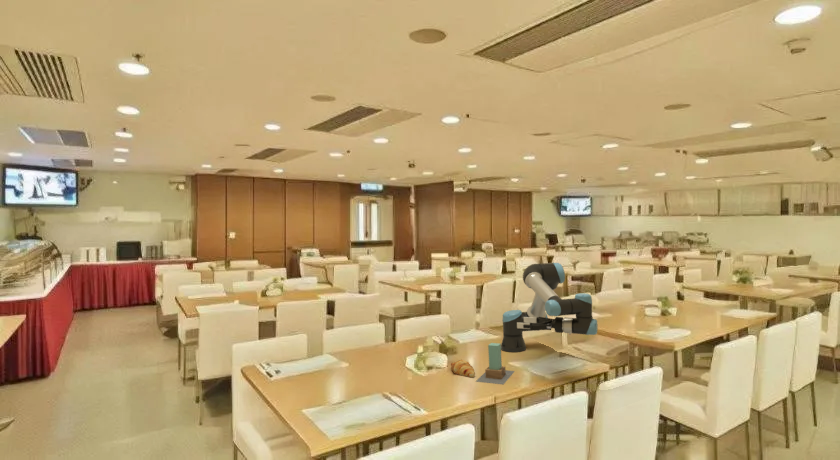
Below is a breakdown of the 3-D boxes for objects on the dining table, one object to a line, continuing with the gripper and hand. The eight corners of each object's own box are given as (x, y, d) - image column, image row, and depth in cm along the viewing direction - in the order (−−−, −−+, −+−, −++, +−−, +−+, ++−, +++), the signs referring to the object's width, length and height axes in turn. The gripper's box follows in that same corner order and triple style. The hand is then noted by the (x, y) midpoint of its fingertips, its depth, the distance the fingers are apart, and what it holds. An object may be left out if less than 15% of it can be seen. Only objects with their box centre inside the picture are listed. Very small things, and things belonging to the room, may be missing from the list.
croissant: (478, 384, 233) (484, 369, 235) (463, 378, 229) (469, 363, 231) (456, 373, 252) (461, 359, 253) (441, 367, 248) (447, 353, 249)
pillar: (492, 366, 236) (491, 342, 236) (501, 367, 234) (500, 343, 234) (489, 369, 232) (488, 345, 232) (498, 370, 230) (497, 345, 230)
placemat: (488, 369, 246) (488, 368, 246) (514, 371, 240) (514, 371, 240) (475, 382, 226) (475, 381, 226) (503, 385, 220) (503, 384, 220)
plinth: (490, 373, 238) (490, 365, 238) (505, 374, 235) (505, 366, 235) (485, 377, 231) (485, 369, 231) (501, 379, 228) (500, 371, 228)
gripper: (559, 339, 215) (514, 335, 225) (567, 327, 238) (526, 324, 247) (558, 323, 215) (514, 320, 225) (567, 312, 238) (526, 310, 247)
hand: (520, 322), depth 236 cm, fingers open, 13 cm apart
